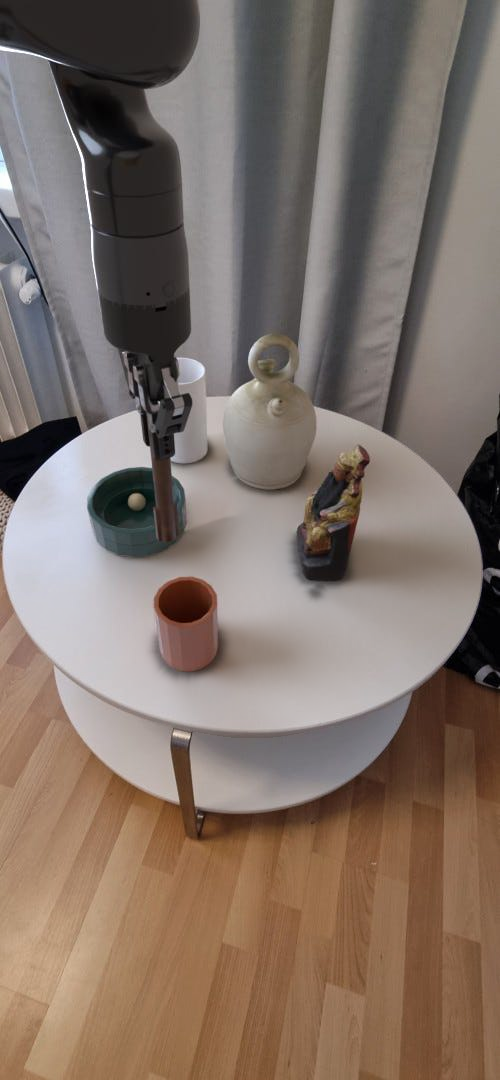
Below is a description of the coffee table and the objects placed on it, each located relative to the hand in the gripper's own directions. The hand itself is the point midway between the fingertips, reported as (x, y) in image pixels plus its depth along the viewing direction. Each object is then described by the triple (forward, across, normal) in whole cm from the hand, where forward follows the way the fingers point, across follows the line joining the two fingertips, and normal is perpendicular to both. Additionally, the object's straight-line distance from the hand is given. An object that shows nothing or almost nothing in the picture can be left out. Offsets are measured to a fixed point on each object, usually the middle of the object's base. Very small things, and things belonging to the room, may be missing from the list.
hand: (159, 449), depth 60 cm
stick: (+13, 0, 0) cm, 13 cm away
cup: (+29, -33, +16) cm, 47 cm away
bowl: (+29, -18, +2) cm, 34 cm away
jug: (+29, -22, +27) cm, 45 cm away
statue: (+29, +1, +24) cm, 37 cm away
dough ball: (+27, -22, +3) cm, 34 cm away
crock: (+29, +6, 0) cm, 29 cm away
